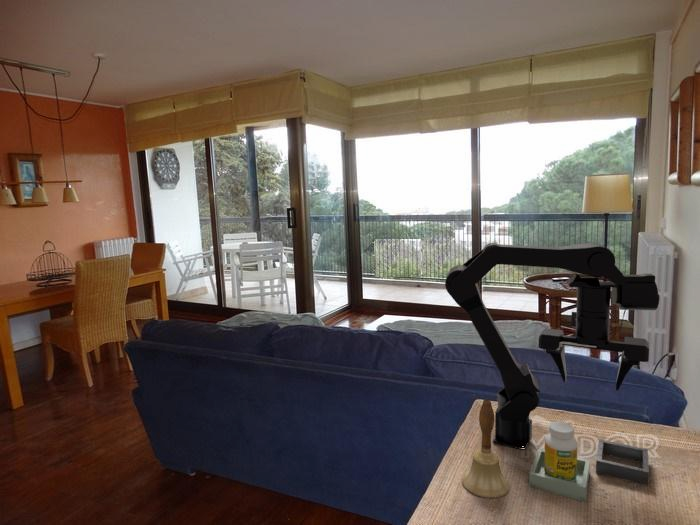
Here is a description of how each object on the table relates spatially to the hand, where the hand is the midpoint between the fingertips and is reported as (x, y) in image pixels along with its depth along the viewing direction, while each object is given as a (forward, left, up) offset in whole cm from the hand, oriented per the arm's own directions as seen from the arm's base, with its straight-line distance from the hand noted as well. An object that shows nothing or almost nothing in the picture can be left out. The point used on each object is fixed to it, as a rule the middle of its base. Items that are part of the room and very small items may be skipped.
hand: (590, 385), depth 92 cm
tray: (-4, -14, -13) cm, 19 cm away
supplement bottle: (-4, -14, -13) cm, 19 cm away
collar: (+6, -5, -13) cm, 15 cm away
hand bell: (-15, -21, -13) cm, 29 cm away
